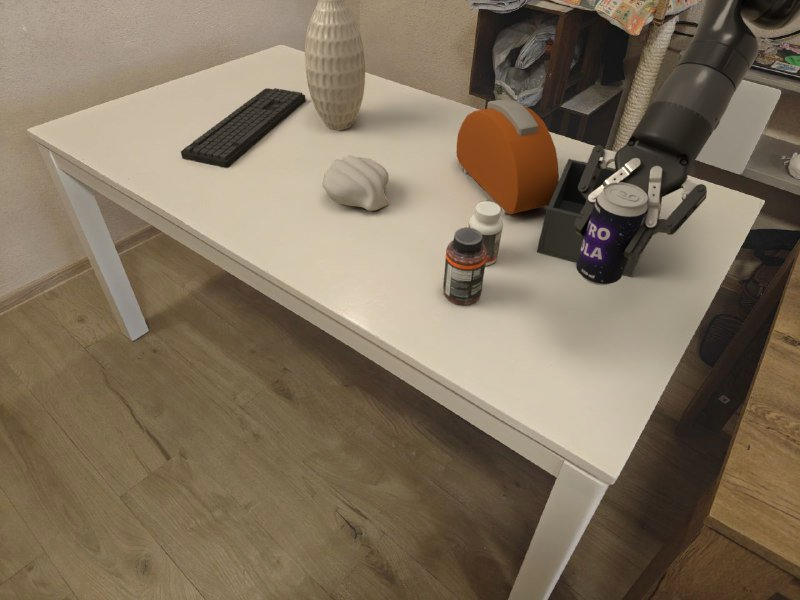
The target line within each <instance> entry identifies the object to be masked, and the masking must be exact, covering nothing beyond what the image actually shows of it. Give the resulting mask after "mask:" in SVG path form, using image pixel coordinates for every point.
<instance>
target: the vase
mask: <svg viewBox="0 0 800 600" xmlns="http://www.w3.org/2000/svg"><path fill="white" fill-rule="evenodd" d="M358 26H359V25H358V23H357V22H356V19H355V17H354V15H353V14H352V12H351V10H350V8H349V6H348V5H347V3H346V2H345V0H317V3H316V5H315V7H314V10H313V12H312V14H311V17H310V19H309V21H308V25H307V29H306V34H305V41H304V63H305V64H304V65H305V75H306V82H307V87H308V90H309V95H310V98H311V100H312V103H313V106H314V108H315V110H316V112H317V114H318V116H319V118H320V119H321V121H322V122H323V124H325V127H327V129H330V130H335V131H343V130H347V129H350V128H351V127H352V125H354V122H355V120H356V119H357V117H358V115H359V112H360V109H361V107H362V102H363V99H364V94H365V85H366V59H365V49H364V44H363V39H362V36H361V35H362V34H361V32H360V29H359V27H358Z"/></svg>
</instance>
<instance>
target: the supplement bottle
mask: <svg viewBox="0 0 800 600" xmlns="http://www.w3.org/2000/svg"><path fill="white" fill-rule="evenodd" d="M486 256H487V251H486V247H485V246H484V244H482V234H481V233H480V232H479V231H478V230H476V229H473V228H469V227H461V228H459V229H457V230H456V231H455V232H454V236H453V240H451V241H450V242H449V243H448V244H447V246H446V250H445V259H444V260H445V261H444V271H443V272H444V273H443V283H442V291H443V295H444V297H445V298H446V299H447V300H448V301H449V302H451V303H453V304H456V305H459V306H460V305H461V306H466V305H470V304H474V303H475V302H477V301H478V300H479V299H480V297H481V295H482V290H483V285H484V284H483V283H484V276H485V271H486V270H485V269H486V266H485V264H486Z"/></svg>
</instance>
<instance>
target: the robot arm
mask: <svg viewBox="0 0 800 600" xmlns="http://www.w3.org/2000/svg"><path fill="white" fill-rule="evenodd" d="M799 17H800V0H705V1H704V5H703V9H702V12H701V15H700V18H699V21H698V24H697V27H696V30H695V32H694V35H693V37H692V39H691V41H690V43H689V44H688V46H687V47H686V49H685V50H684V53H683V54H682V56H681V57H680V59H679V60H678V62H677V64H676V66H675V67H674V69H673V70H672V72H671V73H670V74H669V76H668V77H667V78H666V79H665V81H663V83H662V84H661V86H660V88H659V89H658V91H657V93H655V96H654V97H653V99H652V101H651V102H650V104H649V106H647V109H646V111H645V112H644V114H643V115H642V118H641V119H640V121H639V122H638V124H637V126H636V127H635V129H634V130H633V132H632V133H631V136H629V139H628V140H627V142H626V144H625V145H623V147H621V148H620V149H618V150H617V151H614V150H609V149H605V148H604V147H603V146H602V145H601V144H596V145H594V146H593V147H592V150H591V153H590V155H589V157H588V160H587V162H586V163H587V165H586V167H585V170H584V172H583V175H582V177H581V180H580V182H579V185H578V190H579V191H580V193H581V195H582V196H583V197H584V198H585V199H586V203H585V205H584V207H583V208H582V210H581V212H580V214H579V215H578V217H577V218H576V220H575V224H574V225H575V227H576V230H575V231H576V233H577V234H578V235H580V236H584V235H585V233H586V230H587V227H588V224H589V220H590V217H591V214H592V211H593V207H594V204H595V201H596V198H597V196H598V195H599V194H600V193H601V192H602V190H603V188H604V187H605V186H606V185H608V184H610V183H616V182H621V183H628V184H632V185H635V186H637V187H639V188H641V189H642V190H643V191H644V192H645V193H646V194H647V196H648V200H647V206H648V211H647V213H646V220H645V223H644V225H643V226H640V228H639V229H638V230H637V232H636V233H635V235H634V237H633V238H632V240H631V241H630V243H629V245H628V246H627V248H626V249H625V251H624V254H623V255H624V256H625V257H626V258H628V259H630V260H631V259H632V257H633V256H636V257H638V256H639V255H640V256H641V255H642V254H643V252H644V251H645V249H646V247H647V246H648V244H649V242H650V241H651V239H652V238H653V236H654V235H655V234H665V235H667V236H672V235H674V234H676V233H677V231H679V229H680V228H681V227H682V226H683V225H684V224H685V223H686V222H687V220H688V219H689V218H690V217H691V216H692V215H693V213H694V212H696V210H697V209H698V208H699V207H700V206H701V205H702V204H703V203H704V201H706V199H707V194H708V190H707V186H706V185H705V184H703V183H699V184H697V183H696V182H694V181H692V180H690V179H689V178H688V176H689V175H688V174H689V172H690V169H691V167H692V166H693V164H694V163H695V161H696V160H697V158H698V156H699V155H700V154H701V152H702V150H703V148H704V146H705V145H706V144H707V142H708V140H709V139H710V137H711V136H712V134H713V133H714V131H715V130H717V128H718V126H719V125H720V123H721V120H722V119H723V117H724V115H725V113H726V111H727V109H728V107H729V104H730V102H731V100H732V98H733V96H734V94H735V93H736V91H737V89H738V88H739V87H740V84H741V83H742V82H743V80H744V79H745V76H746V75H747V74H748V72H749V70H750V69H751V67H752V65H753V64H754V62H755V60H756V58H757V57H758V54H759V50H760V44H759V41H758V38H757V36H756V35H755V33H754V32H753V31H752V30H751V29H750V27H749V26H748V25H747V23H746V22H748V23H750V25H753V26H754V27H756V28H758V29H760V30H764V31H774V30H780V29H783V28H786V27H788V26H789V25H791V24H792V23H794V22H795V21H796V20H797V19H798V18H799ZM745 21H746V22H745ZM613 162H614V169H616V173H614V174H613V175H612V176H610V177H609V178H608V179H606V180H605V181H604V182H603V184H602V185H601V186H600V187H599V188H597V189H596V190H595V191H594V190H593V189H594V186H595V184H596V181H597V179H598V176H599V174H600V172H601V169H604V168H606V167H609V166H610V164H611V163H613ZM681 189H683V191H682V193H681V200H682V201H681V202H680V203H679V204H678V205H677V207H675V209H674V210H673V211H672V212H671V214H669V215H668V217H667V218H666V219H664V218H660V217H661V213H662V205H663V204H662V203H663V198H665V197H666V196H668V195H670V194H673V193H674V192H676V191H678V190H681Z"/></svg>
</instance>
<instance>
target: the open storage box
mask: <svg viewBox="0 0 800 600" xmlns="http://www.w3.org/2000/svg"><path fill="white" fill-rule="evenodd" d="M586 165H587V162H586V161H580V160H576V159H571V158H568V159H567V161H566V164H565V166H564V169H563V171H562V173H561V175H560V177H559V182H558V185H557V187H556V189H555V191H554V194H553V196H552V198H551V201H550V203H549V205H547V206H546V207H547V208H546V210H545V214H544V218H543V223H542V229H541V231H540V236H539V239H538V240H539V241H538V245H537V249H536V253H539V254H542V255H546V256H550V257H553V258H557V259H561V260H566V261H568V262H572V263H575V264H576V263H577V260H578V256H579V253H580V250H581V246H582V243H583V240H584V237H585V235H584V236H580V235H578V234H577V233H576V231H575V230H576V227H575V225H574V224H575V220H576V218H577V217H578V215H579V214H580V212H581V210H582V208H583V207H584V205H585V203H586V199H585V198H584V197H583V196H582V195H581V193H580V191H579V190H578V185H579V182H580V180H581V177H582V175H583V172H584V170H585V167H586ZM614 173H616V169H615V167H614V168H613V167H609V166H607V167H606V168H604V169H601V172H600V174H599V176H598V179H597V181H596V184H595V186H594V189H593V190H594V191H595V190H596V189H597V188H599V187H600V186H601V185H602V184H603V182H604V181H605V180H606V179H608V178H609V177H610V176H612V175H613V174H614ZM645 220H646V216H645V218H644V221H643V223H642V226H643V225H644V223H645ZM640 257H641V255H639V256H638V257H636V256H633V257H632V259H631V260H630V259H628V262H627V264H626V267H625V269H624V272H623V275H622V276H625V277H629V278H632V277H633V274H634V272H635V269H636V267H637V265H638V262H639V259H640Z"/></svg>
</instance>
